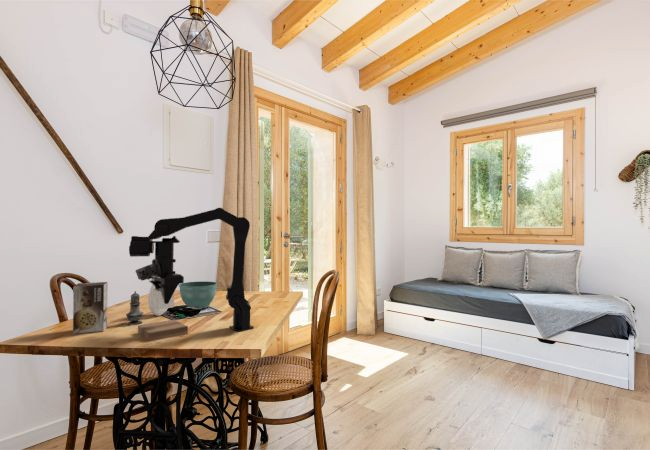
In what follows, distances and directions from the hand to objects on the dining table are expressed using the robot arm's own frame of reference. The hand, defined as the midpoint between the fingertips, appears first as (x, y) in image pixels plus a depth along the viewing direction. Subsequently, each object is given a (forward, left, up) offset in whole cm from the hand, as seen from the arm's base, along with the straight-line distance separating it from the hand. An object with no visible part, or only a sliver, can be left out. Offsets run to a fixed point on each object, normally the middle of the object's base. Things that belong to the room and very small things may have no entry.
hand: (163, 302), depth 120 cm
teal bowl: (+30, -26, -11) cm, 41 cm away
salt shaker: (+20, +3, -11) cm, 23 cm away
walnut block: (0, 0, -11) cm, 11 cm away
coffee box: (+20, +17, -11) cm, 28 cm away
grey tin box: (0, 0, -2) cm, 2 cm away
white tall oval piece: (+27, -8, -11) cm, 30 cm away
